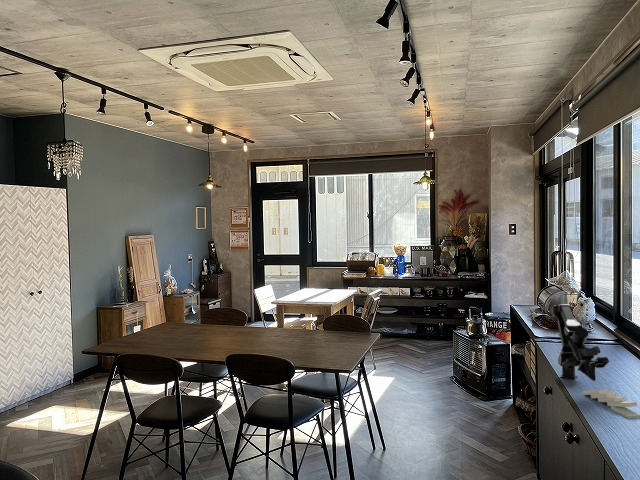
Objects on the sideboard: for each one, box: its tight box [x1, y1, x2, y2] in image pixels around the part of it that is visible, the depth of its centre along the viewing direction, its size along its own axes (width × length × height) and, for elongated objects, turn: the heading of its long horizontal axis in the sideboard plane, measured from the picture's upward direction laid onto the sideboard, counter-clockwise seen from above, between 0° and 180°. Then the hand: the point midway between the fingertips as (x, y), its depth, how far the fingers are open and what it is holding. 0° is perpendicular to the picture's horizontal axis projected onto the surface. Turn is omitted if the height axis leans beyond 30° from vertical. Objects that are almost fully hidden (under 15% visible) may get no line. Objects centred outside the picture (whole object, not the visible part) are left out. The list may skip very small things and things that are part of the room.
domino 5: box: [610, 406, 640, 420], centre depth 200 cm, size 2×5×10 cm
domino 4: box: [606, 400, 638, 408], centre depth 203 cm, size 2×5×10 cm
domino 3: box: [597, 396, 627, 403], centre depth 208 cm, size 2×5×10 cm
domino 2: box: [590, 392, 619, 399], centre depth 213 cm, size 2×5×10 cm
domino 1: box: [583, 388, 611, 396], centre depth 217 cm, size 2×5×10 cm
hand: (594, 380), depth 219 cm, fingers closed
